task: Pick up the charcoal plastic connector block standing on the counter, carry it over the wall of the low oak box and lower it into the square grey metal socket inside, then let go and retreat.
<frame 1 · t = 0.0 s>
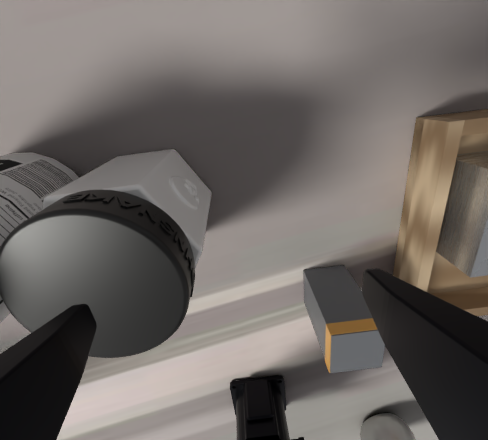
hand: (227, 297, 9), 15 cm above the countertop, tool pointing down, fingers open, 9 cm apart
plastic bottle: (377, 418, 38), on the countertop
supplement can: (48, 200, 22), on the countertop
jar: (159, 198, 23), on the countertop
connector: (323, 283, 27), on the countertop
socket: (471, 193, 24), resting on oak box
oak box: (476, 212, 25), on the countertop
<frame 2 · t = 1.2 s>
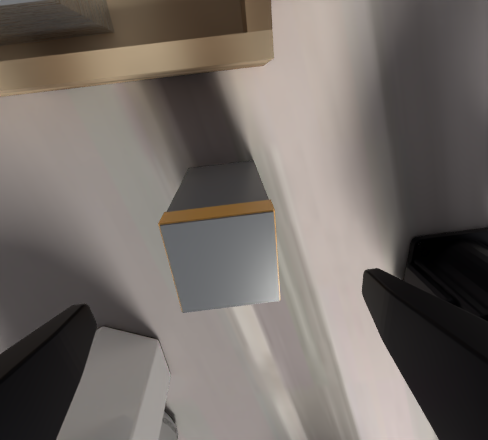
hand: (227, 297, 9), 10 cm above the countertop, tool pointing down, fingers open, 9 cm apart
supplement can: (138, 422, 27), on the countertop
jar: (121, 360, 24), on the countertop
connector: (225, 194, 18), on the countertop
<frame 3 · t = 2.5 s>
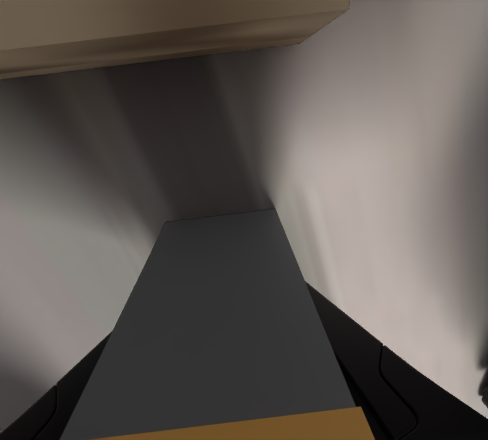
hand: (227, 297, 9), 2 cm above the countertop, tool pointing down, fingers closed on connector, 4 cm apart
connector: (227, 261, 11), on the countertop, touching gripper
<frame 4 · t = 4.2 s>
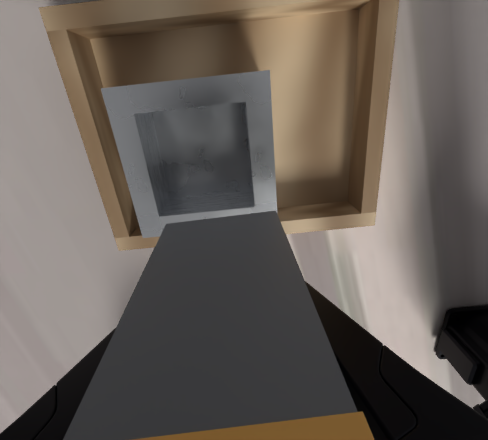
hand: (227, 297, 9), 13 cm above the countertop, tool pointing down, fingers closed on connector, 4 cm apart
connector: (228, 263, 11), point 11 cm above the countertop, touching gripper
socket: (209, 145, 20), resting on oak box
oak box: (234, 128, 19), on the countertop
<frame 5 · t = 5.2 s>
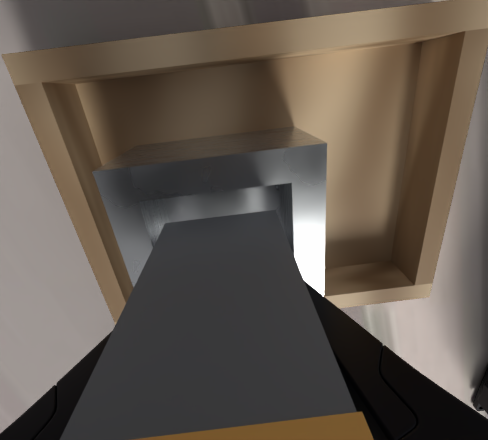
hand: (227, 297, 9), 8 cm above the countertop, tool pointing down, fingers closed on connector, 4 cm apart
connector: (227, 262, 11), point 6 cm above the countertop, touching gripper
socket: (226, 202, 16), resting on oak box
oak box: (258, 182, 16), on the countertop
when the fingers open (6 cm above the countertop, at t = 5.8 s): connector drops 1 cm, resting on socket.
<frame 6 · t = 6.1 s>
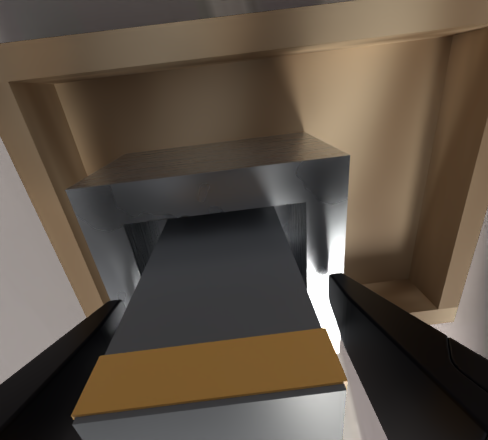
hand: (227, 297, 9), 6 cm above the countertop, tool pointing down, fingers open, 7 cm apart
connector: (228, 243, 12), point 3 cm above the countertop, touching socket
socket: (227, 215, 15), resting on oak box
oak box: (262, 193, 14), on the countertop
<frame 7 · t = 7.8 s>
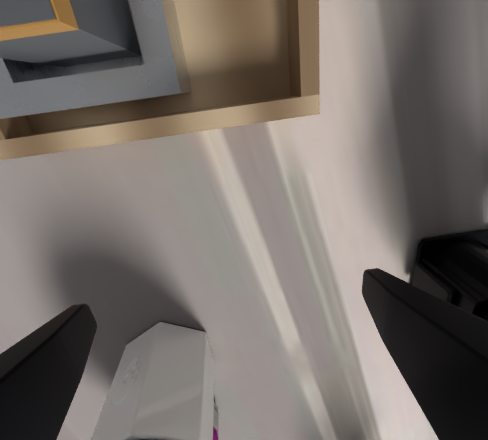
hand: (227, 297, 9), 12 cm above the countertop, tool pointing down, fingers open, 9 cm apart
jar: (172, 351, 28), on the countertop
connector: (87, 13, 13), point 3 cm above the countertop, touching socket
socket: (109, 25, 16), resting on oak box
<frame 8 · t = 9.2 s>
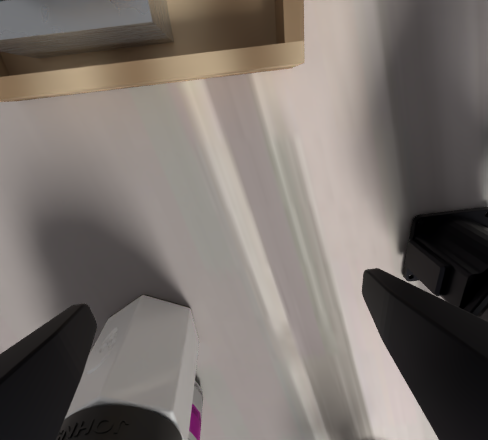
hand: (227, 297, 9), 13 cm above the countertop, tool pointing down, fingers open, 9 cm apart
supplement can: (167, 387, 31), on the countertop
jar: (156, 327, 27), on the countertop
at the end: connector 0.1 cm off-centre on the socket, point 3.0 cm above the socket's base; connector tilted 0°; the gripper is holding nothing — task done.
